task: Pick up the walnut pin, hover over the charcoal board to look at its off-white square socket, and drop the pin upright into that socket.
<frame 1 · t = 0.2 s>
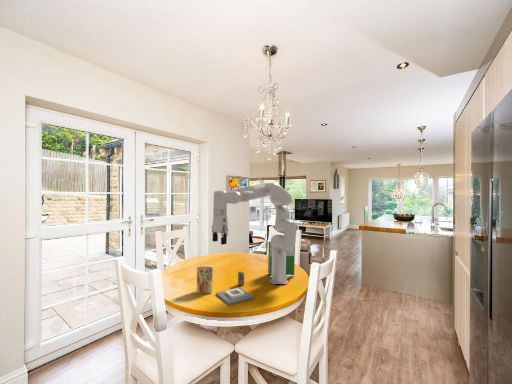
hand: (219, 242, 135), 31 cm above the table, tool pointing down, fingers open, 9 cm apart
hardback book: (280, 275, 173), on the table
walnut pin: (240, 284, 154), on the table
candy box: (204, 292, 142), on the table
layout board: (234, 296, 136), on the table
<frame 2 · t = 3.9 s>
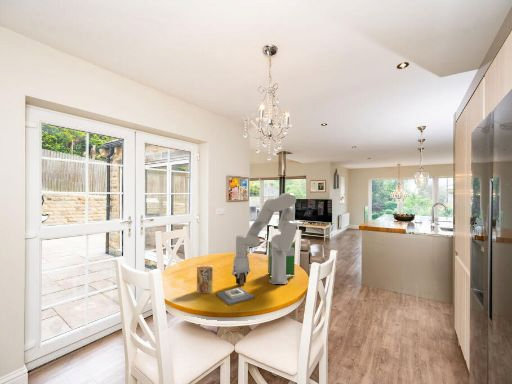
hand: (240, 282, 154), 1 cm above the table, tool pointing down, fingers closed on walnut pin, 4 cm apart
walnut pin: (240, 284, 154), on the table, touching gripper
everything else where it was.
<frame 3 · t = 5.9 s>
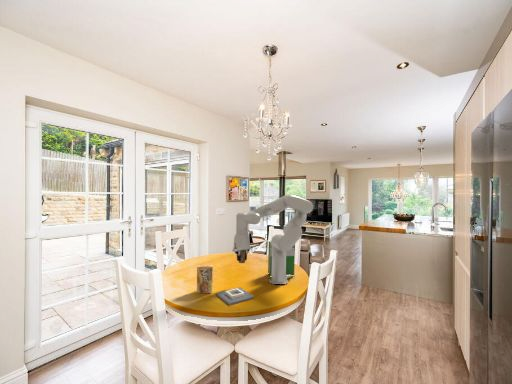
hand: (241, 260, 154), 16 cm above the table, tool pointing down, fingers closed on walnut pin, 4 cm apart
walnut pin: (241, 262, 154), point 15 cm above the table, touching gripper
everything else where it was.
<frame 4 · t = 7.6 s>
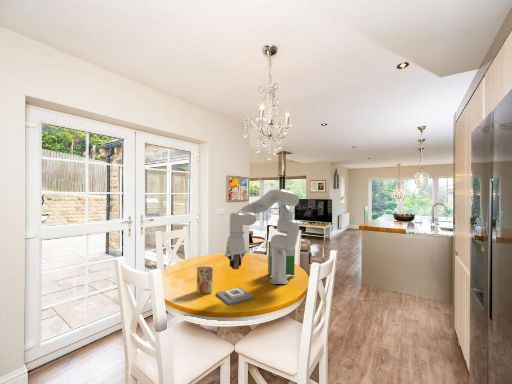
hand: (235, 266, 136), 17 cm above the table, tool pointing down, fingers closed on walnut pin, 4 cm apart
walnut pin: (235, 268, 137), point 16 cm above the table, touching gripper
everything else where it was.
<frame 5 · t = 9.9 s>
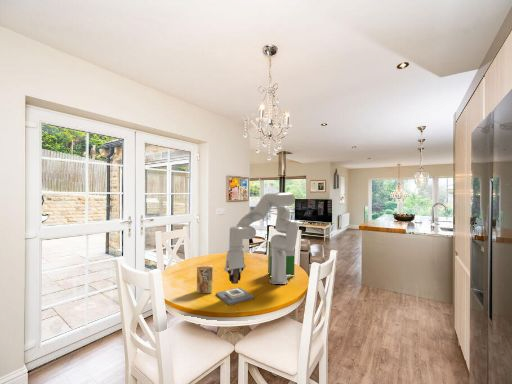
hand: (234, 280, 136), 9 cm above the table, tool pointing down, fingers closed on walnut pin, 4 cm apart
walnut pin: (234, 282, 136), point 8 cm above the table, touching gripper
everything else where it was.
when the fingers open (5 cm above the table, at t = 11.7 s): walnut pin drops 2 cm, resting on layout board.
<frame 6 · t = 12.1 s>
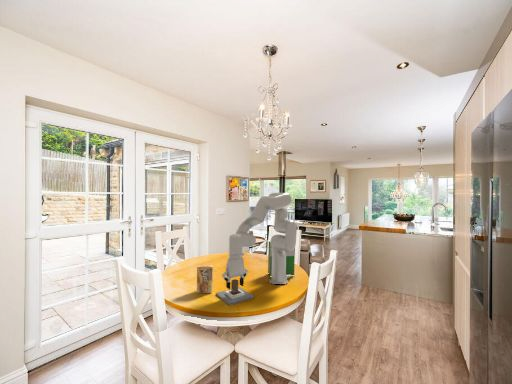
hand: (235, 286, 136), 5 cm above the table, tool pointing down, fingers open, 8 cm apart
walnut pin: (234, 294, 136), point 1 cm above the table, touching layout board
everything else where it was.
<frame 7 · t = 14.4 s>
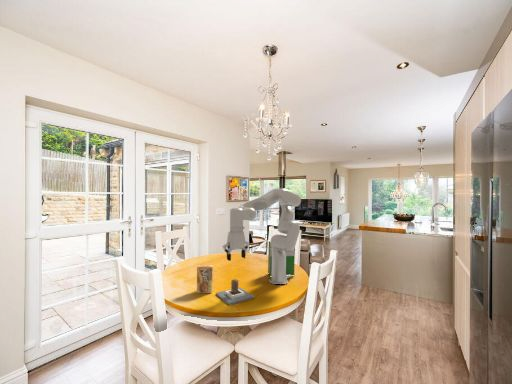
hand: (236, 258, 138), 21 cm above the table, tool pointing down, fingers open, 9 cm apart
nothing on the table moved.
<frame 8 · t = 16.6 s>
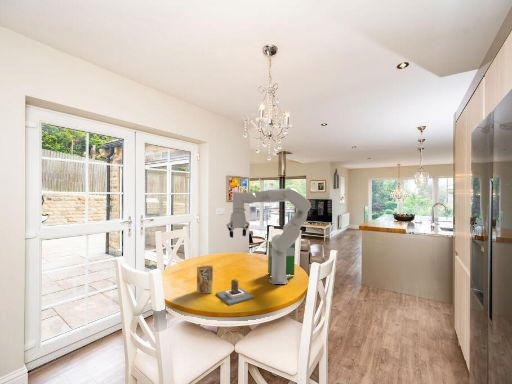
hand: (237, 236, 158), 30 cm above the table, tool pointing down, fingers open, 9 cm apart
nothing on the table moved.
at the end: walnut pin 0.1 cm off-centre on the layout board, point 1.0 cm above the layout board's base; walnut pin tilted 0°; the gripper is holding nothing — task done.
